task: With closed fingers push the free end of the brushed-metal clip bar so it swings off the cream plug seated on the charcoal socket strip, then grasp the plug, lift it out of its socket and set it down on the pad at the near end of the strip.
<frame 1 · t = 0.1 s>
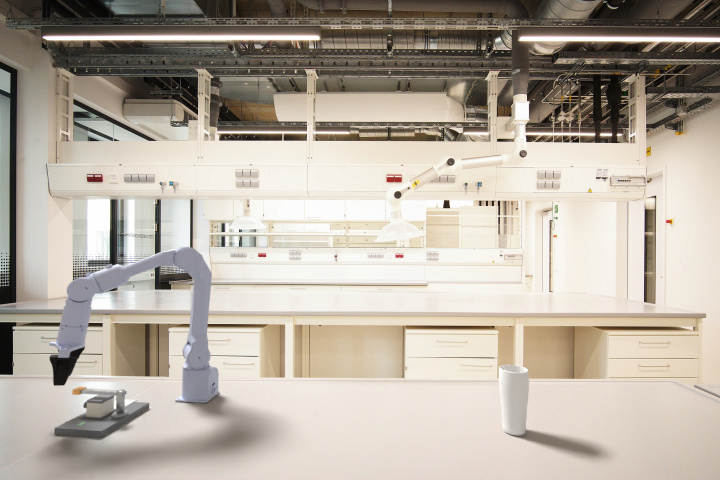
hand: (62, 380, 92), 10 cm above the countertop, tool pointing down, fingers open, 7 cm apart
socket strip: (105, 420, 93), on the countertop
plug: (100, 413, 93), point 2 cm above the countertop, touching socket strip
drinking glass: (513, 432, 89), on the countertop
clip: (99, 400, 94), point 5 cm above the countertop, hinge at 0.0°
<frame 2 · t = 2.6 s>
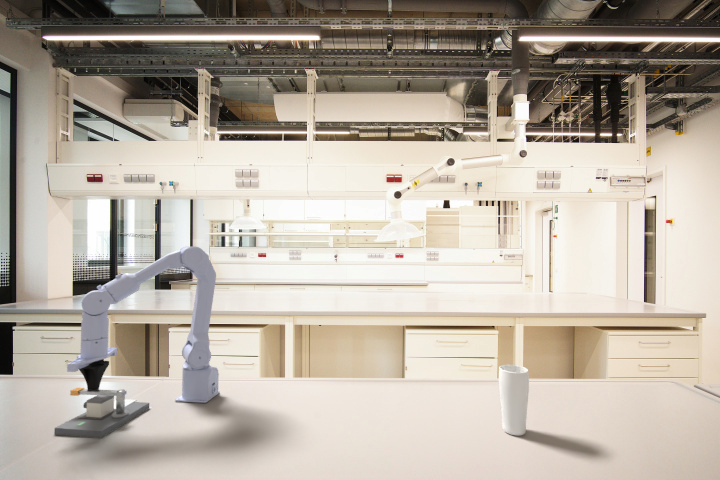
hand: (93, 391, 95), 7 cm above the countertop, tool pointing down, fingers closed, pressing on clip
clip: (98, 400, 93), point 5 cm above the countertop, hinge at 3.0°, touching gripper
everything else where it was.
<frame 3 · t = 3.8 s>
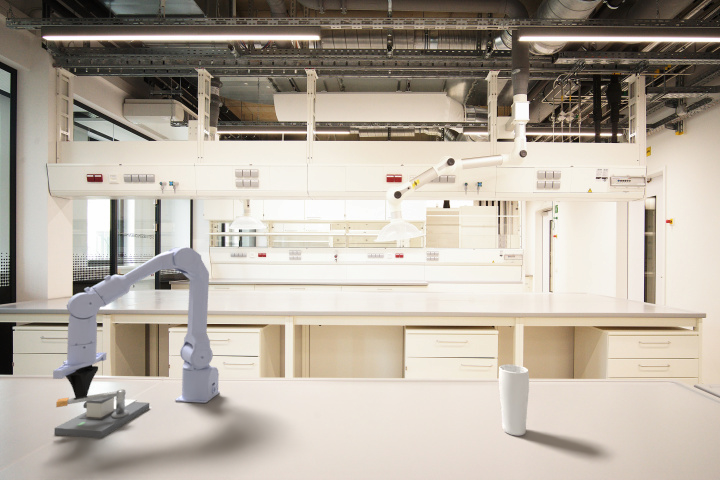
hand: (80, 398, 90), 7 cm above the countertop, tool pointing down, fingers closed
clip: (92, 406, 90), point 5 cm above the countertop, hinge at 37.1°, touching gripper
everything else where it was.
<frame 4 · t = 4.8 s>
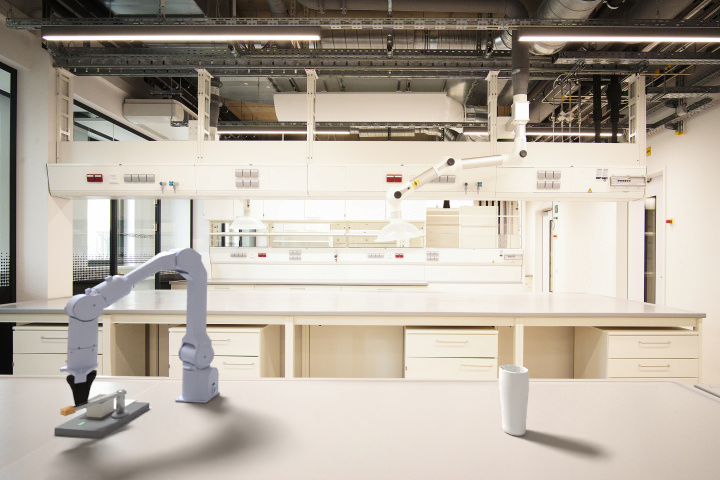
hand: (81, 404, 86), 7 cm above the countertop, tool pointing down, fingers closed, pressing on clip
clip: (95, 410, 88), point 5 cm above the countertop, hinge at 70.5°, touching gripper
everything else where it was.
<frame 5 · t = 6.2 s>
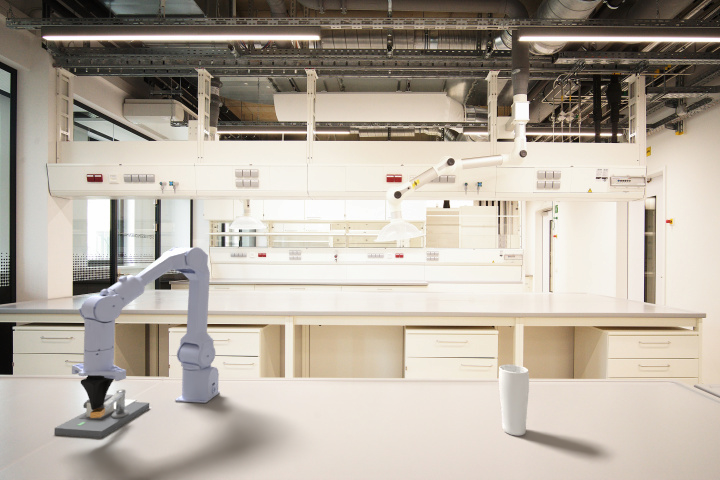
hand: (97, 408, 84), 7 cm above the countertop, tool pointing down, fingers closed, pressing on clip
clip: (109, 411, 87), point 5 cm above the countertop, hinge at 108.0°, touching gripper
everything else where it was.
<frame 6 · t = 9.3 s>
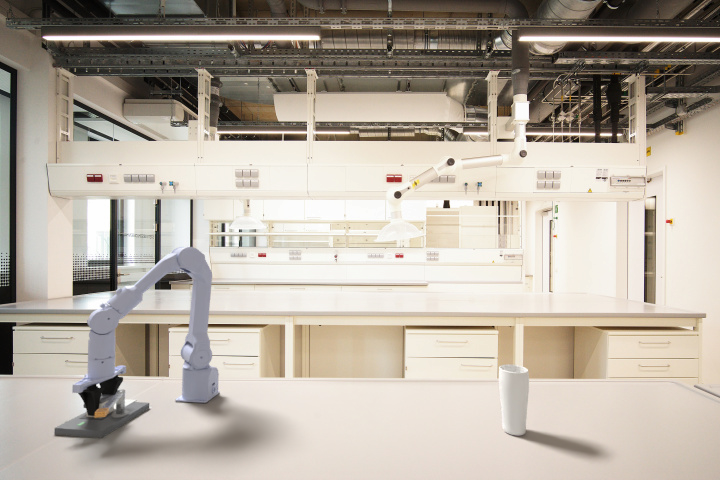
hand: (100, 411, 93), 2 cm above the countertop, tool pointing down, fingers closed on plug, 4 cm apart
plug: (100, 413, 93), point 2 cm above the countertop, touching gripper, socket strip
clip: (111, 411, 87), point 5 cm above the countertop, hinge at 111.8°
everything else where it was.
when the fingers open (3 cm above the countertop, at t = 12.1 s): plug stays where it is, resting on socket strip.
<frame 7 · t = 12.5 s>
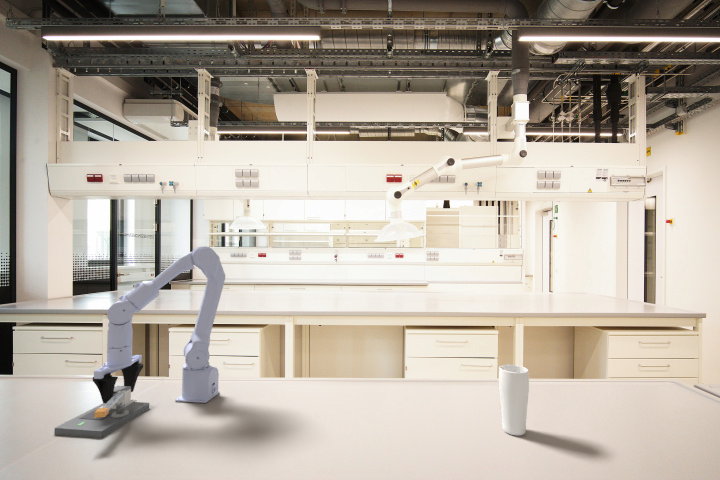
hand: (118, 397, 99), 3 cm above the countertop, tool pointing down, fingers open, 7 cm apart
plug: (118, 403, 99), point 2 cm above the countertop, touching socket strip
everything else where it was.
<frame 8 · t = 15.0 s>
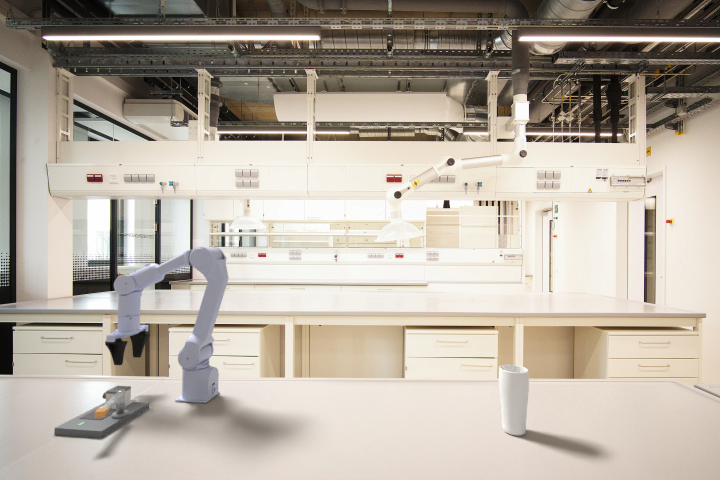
hand: (128, 360, 110), 10 cm above the countertop, tool pointing down, fingers open, 7 cm apart
nothing on the countertop moved.
at the end: clip at +112° (first picture: +0°); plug 0.1 cm from the target spot, point 1.6 cm above the countertop; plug tilted 0° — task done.
